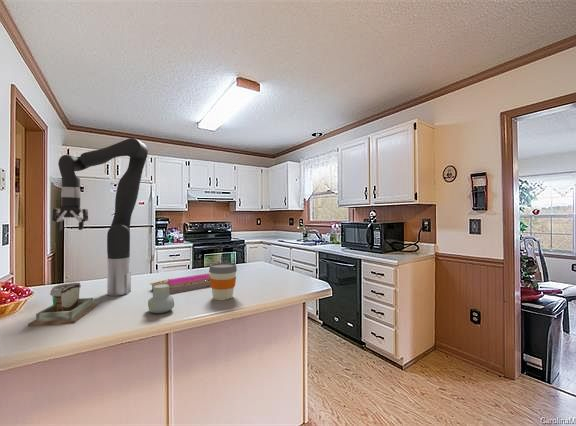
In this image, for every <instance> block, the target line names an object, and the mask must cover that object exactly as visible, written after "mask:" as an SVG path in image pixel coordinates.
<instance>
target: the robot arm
mask: <svg viewBox="0 0 576 426" xmlns="http://www.w3.org/2000/svg"><path fill="white" fill-rule="evenodd" d="M148 153H149V150H148V147H147V145H146V144H145V143H143V141H141V140H139V139H137V138H134V137H132V138H131V137H129V138H127V139H124V140H122V141H119V142H117V143H113V144H111V145H109V146H106V147H102V148H99V149H95V150H94V149H93V150H90V151H86V152H83V153H81V154H80V156H73V155H69V154H64V155H62V156H60V157H59V159H58V169H59V172H60V173H59V174H60V177H61V178H62V179H61V192H60V193H61V194H60V208H58V207H57V208H53V210H52V219H51V220H52V222H53V221H54V222H56V224H57V225H56V227H57V229H58V231H63V221H64V220H65V219H66V218H75V219H76V220H77V221H78V230H79V231H82V230H83V229H84V227H85V226H84V223H85V222H88V221H89V211H88V209H87V208H83V209H82V208H81V179H80V176H78V175H77V174H76V172H82V171H83V170H86V169H89V168H91V167H95V166H99V165H104V164H106V163H108V162H109V161H111V160H112V159H115V158H119V157H128V158H129V162H128V167H127V168H126V171H125V172H124V174H123V175H122V177H120V180H119V181H118V183H117V188H116V192H115V200H114V201H115V202H114V215H113V219H112V222H111V224H110V227H109V228H108V231H107V235H106V236H107V237H106V241H107V242H106V244H107V245H106V251H107V252H106V254H107V258H106V259H107V263H106V264H107V267H106V268H107V270H106V271H107V274H106V279H107V280H106V282H107V283H106V285H107V286H106V288H107V289H106V295H107V296H111V297H115V296H116V297H117V296H122V295H128V294H129V293H130V292H131V291H132V272H131V271H130V269H131V268H130V265H131V258H130V257H131V255H130V254H131V232H130V231H131V220H132V215H133V211H134V210H135V206H136V203H137V199H138V196H139V191H140V184H141V181H142V174H143V171H144V167H145V163H146V161H147V158H148V155H149V154H148ZM60 213H61V214H60ZM80 213H81V214H82V216H81V214H80ZM59 214H60V215H59Z"/></svg>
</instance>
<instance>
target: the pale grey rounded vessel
mask: <svg viewBox="0 0 576 426" xmlns="http://www.w3.org/2000/svg"><path fill="white" fill-rule="evenodd" d="M169 288H170V287H169V285H166V284H161V285H156V286H154V287H153V290H152V297H150V298H149V299H148V301H147V306H148V307H147V308H148V310H149V312H150V313H153V314H164V313H167V312H169V311H172V309H174V307H175V299H174V297H173V296H172V295H171V294H169Z"/></svg>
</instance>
